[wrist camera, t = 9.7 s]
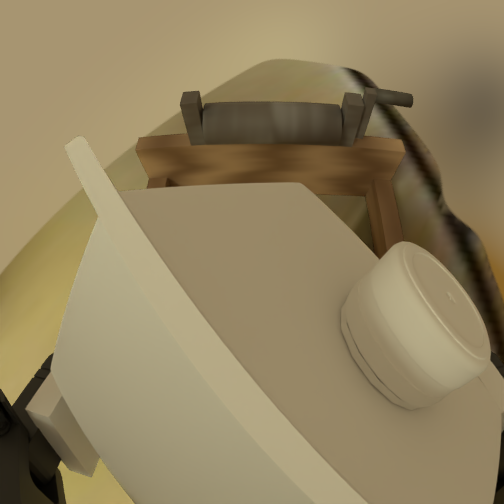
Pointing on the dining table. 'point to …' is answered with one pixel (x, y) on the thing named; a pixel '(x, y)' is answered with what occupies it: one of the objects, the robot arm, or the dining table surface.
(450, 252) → the dining table surface
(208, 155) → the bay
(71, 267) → the dining table surface
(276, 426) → the milk carton
